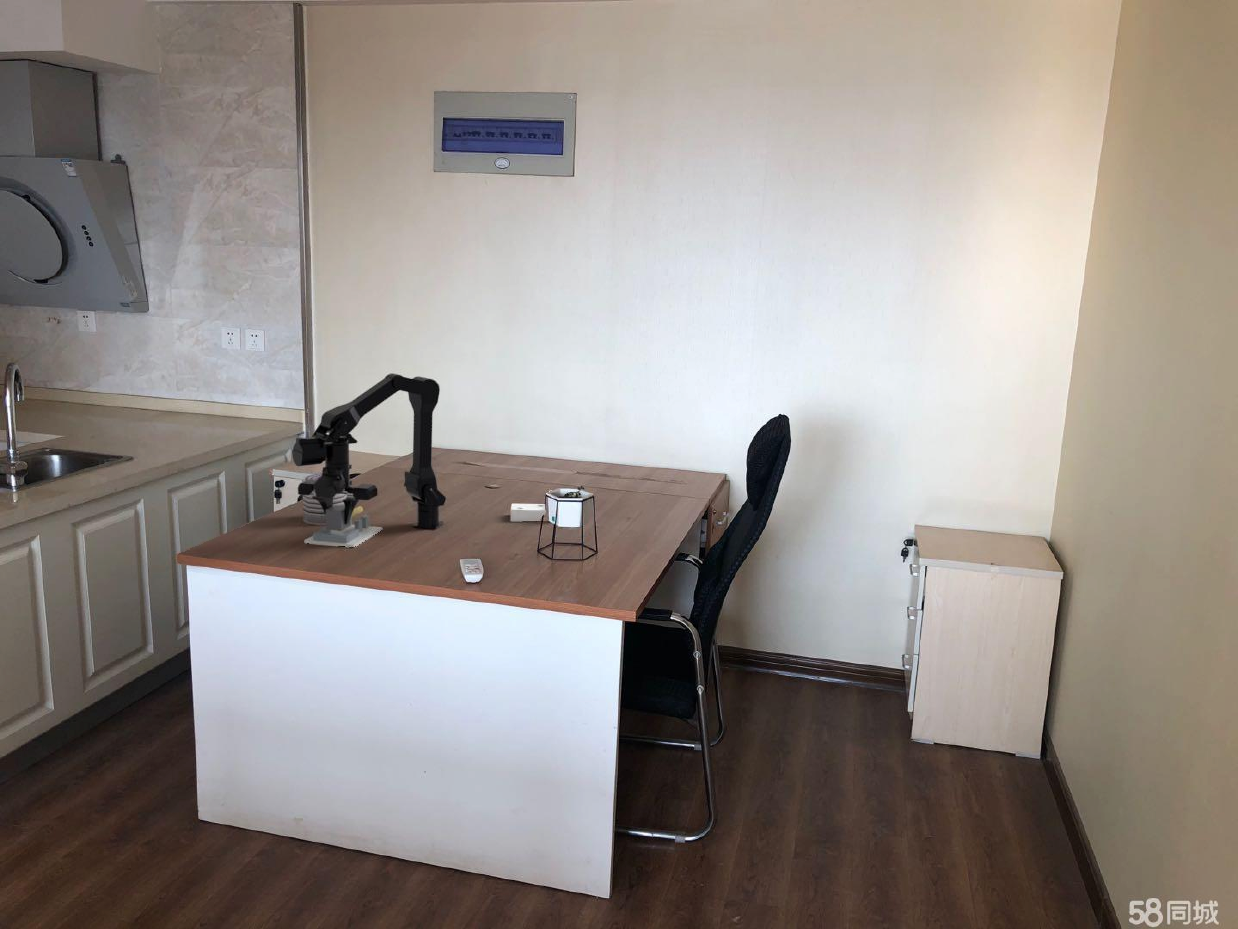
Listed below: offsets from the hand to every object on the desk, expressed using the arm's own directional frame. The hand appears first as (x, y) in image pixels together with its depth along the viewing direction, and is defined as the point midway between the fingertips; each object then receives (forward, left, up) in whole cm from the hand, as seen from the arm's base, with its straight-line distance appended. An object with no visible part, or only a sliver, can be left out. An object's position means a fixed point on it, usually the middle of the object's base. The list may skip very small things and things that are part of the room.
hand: (338, 523), depth 245 cm
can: (-17, -12, -5) cm, 21 cm away
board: (-3, 0, -4) cm, 6 cm away
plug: (-5, 0, -1) cm, 5 cm away
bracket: (-37, +41, -5) cm, 55 cm away
